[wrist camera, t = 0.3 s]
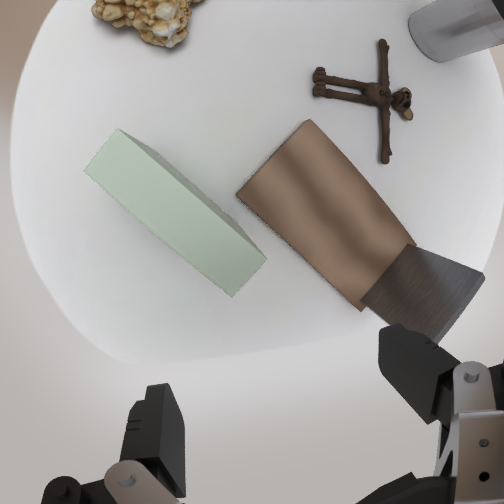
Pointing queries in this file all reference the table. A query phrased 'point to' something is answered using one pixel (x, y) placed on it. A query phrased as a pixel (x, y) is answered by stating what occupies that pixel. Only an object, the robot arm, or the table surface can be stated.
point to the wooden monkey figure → (369, 96)
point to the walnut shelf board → (326, 212)
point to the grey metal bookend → (423, 292)
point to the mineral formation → (149, 18)
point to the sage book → (175, 211)
